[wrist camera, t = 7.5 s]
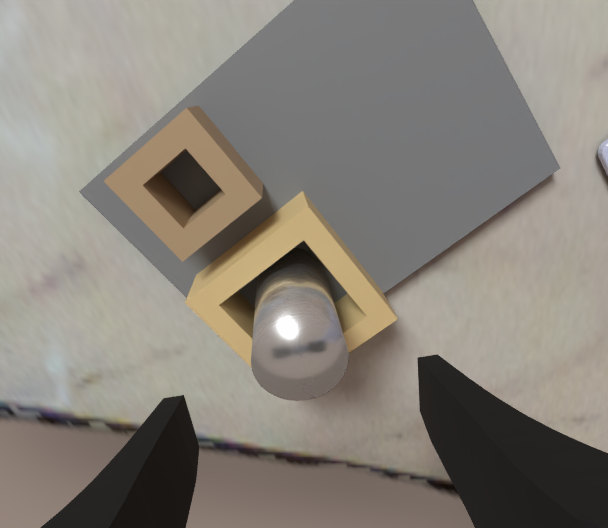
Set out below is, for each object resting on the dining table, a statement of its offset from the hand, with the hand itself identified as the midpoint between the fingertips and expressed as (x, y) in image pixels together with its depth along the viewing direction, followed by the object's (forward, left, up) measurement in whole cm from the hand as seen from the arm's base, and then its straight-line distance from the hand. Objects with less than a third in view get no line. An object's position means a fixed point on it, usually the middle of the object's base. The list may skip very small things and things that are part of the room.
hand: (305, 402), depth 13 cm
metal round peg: (0, 0, -9) cm, 9 cm away
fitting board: (+3, -4, -10) cm, 11 cm away
